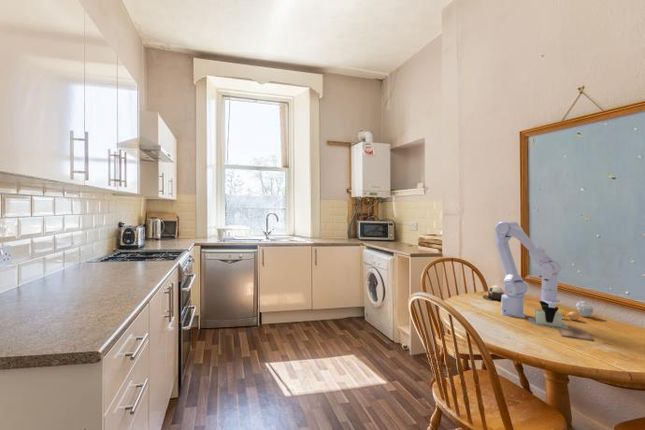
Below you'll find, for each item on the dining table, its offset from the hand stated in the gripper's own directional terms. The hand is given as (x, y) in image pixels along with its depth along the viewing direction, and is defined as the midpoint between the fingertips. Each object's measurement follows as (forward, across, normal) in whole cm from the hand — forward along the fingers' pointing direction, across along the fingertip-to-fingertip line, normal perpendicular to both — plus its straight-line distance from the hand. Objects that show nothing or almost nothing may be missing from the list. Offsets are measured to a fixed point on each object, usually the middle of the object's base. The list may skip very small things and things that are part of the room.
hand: (547, 320), depth 149 cm
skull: (+2, +37, +19) cm, 42 cm away
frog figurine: (+2, +22, -18) cm, 28 cm away
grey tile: (+2, 0, 0) cm, 2 cm away
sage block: (+1, 0, 0) cm, 1 cm away
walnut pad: (+2, -11, -7) cm, 13 cm away
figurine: (+1, +12, -14) cm, 18 cm away
